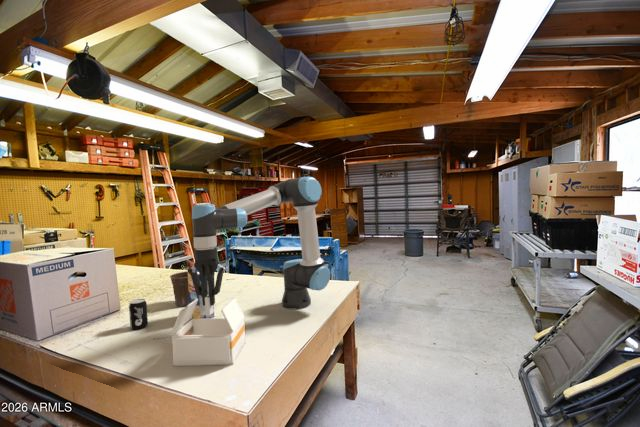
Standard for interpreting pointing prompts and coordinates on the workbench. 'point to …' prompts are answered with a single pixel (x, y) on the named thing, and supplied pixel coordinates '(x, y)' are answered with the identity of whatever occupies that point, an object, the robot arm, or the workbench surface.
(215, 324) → the carton
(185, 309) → the end flap
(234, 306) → the end flap
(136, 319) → the beverage can
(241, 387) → the workbench surface
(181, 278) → the plant pot
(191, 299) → the beverage box
